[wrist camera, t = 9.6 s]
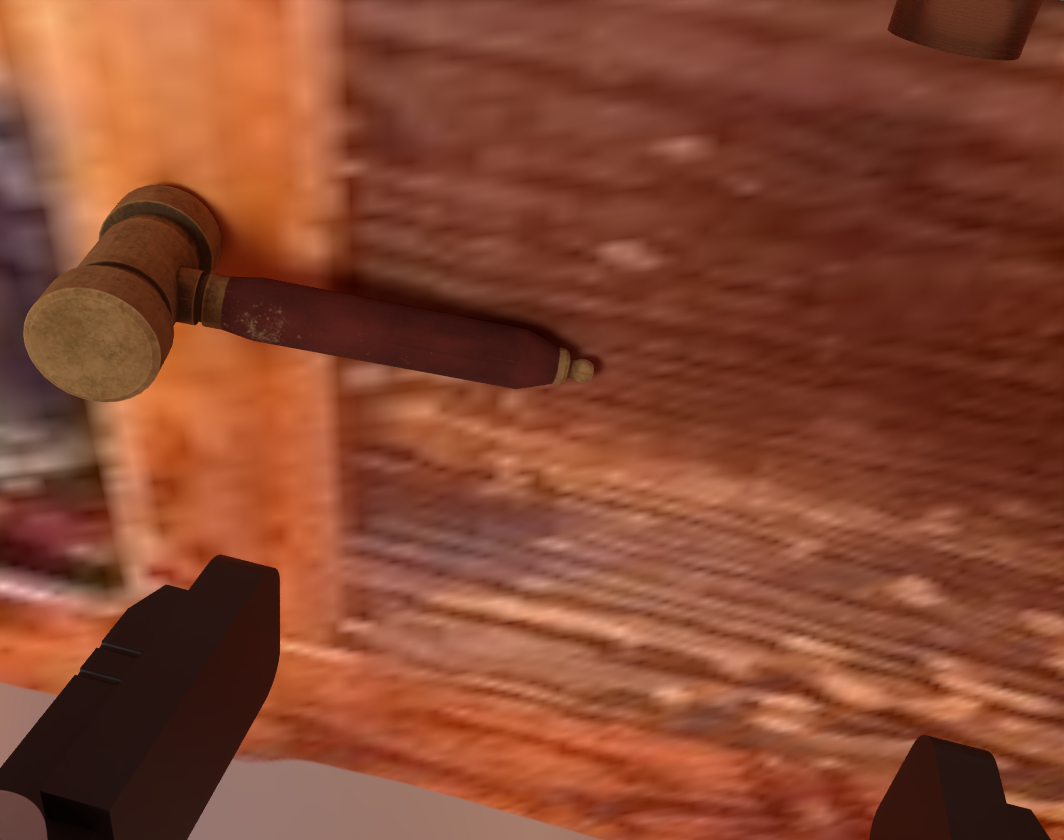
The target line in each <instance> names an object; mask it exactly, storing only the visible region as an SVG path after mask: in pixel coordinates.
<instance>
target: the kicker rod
mask: <svg viewBox="0 0 1064 840" xmlns="http://www.w3.org/2000/svg"><path fill="white" fill-rule="evenodd" d="M1041 3H1042V0H897V2H896V5H895V8H894V11H893V14H892V17H891V20H890V23H889V26H888V30H889V31H890V32H891V33H892V34H894V35H896V36H898V37H900V38H903V39H905V40H908V41H911V42H914V43H917V44H920V45H923V46H927V47H931V48H934V49H938V50H942V51H946V52H951V53H955V54H960V55H966V56H971V57H977V58H985V59H993V60H1016V59H1018V58H1019V57H1020V55H1021V52H1022V50H1023V47H1024V45H1025V42H1026V40H1027V37H1028V35H1029V32H1030V30H1031V28H1032V25H1033V23H1034V20H1035V18H1036V15H1037V13H1038V10H1039V8H1040V5H1041Z"/></svg>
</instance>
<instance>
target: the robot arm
mask: <svg viewBox="0 0 1064 840" xmlns="http://www.w3.org/2000/svg"><path fill="white" fill-rule="evenodd" d="M279 655H280V577H279V572H278V570H277V569H276V568H272V567H268V566H264V565H260V564H256V563H252V562H249V561H245V560H241V559H237V558H233V557H229V556H225V555H217V556H216V557H214V558H213V559H212V560H211V561H210V562H209V563H208V565H207V566H206V567H205V569H204V570H203V571H202V573H201V574H200V575H199V577H198V578H197V579H196V581H195V582H194V584H193V585H192V586H191V588H190V589H189V590H185V589H182V588H178V587H174V586H170V585H164V586H163V587H161V588H160V589H158V590H157V591H155V592H153V593H152V594H150V595H149V596H147V597H146V598H144V599H142V600H141V601H139V602H138V603H136V604H135V605H133V606H131V607H130V608H128V609H127V610H126V612H125V613H124V614H123V615H122V617H121V618H120V619H119V620H118V622H117V623H116V624H115V625H114V627H113V628H112V629H111V630H110V632H109V633H108V634H107V635H106V637H105V638H104V639H103V640H102V644H101V646H100V648H96V649H95V650H94V652H93V653H92V654H91V655H90V657H89V658H88V659H87V660H86V662H85V663H84V664H83V665H82V667H81V668H80V672H79V674H78V675H74V677H73V678H72V679H71V680H70V682H69V683H68V684H67V685H66V687H65V688H64V689H63V690H62V692H61V693H60V694H59V695H58V697H57V698H56V699H55V700H54V702H53V703H52V704H51V705H50V707H49V708H48V709H47V710H46V712H45V713H44V714H43V716H42V717H41V718H40V719H39V720H38V722H37V723H36V724H35V725H34V727H33V728H32V729H31V730H30V732H29V733H28V734H27V735H26V737H25V738H24V739H23V740H22V741H21V743H20V744H19V745H18V747H17V748H16V749H15V750H14V752H13V753H12V754H11V755H10V756H9V758H8V759H7V760H6V762H5V763H4V764H3V765H2V767H1V768H0V840H187V839H188V837H189V835H190V833H191V831H192V830H193V828H194V826H195V824H196V823H197V821H198V819H199V817H200V815H201V814H202V812H203V810H204V808H205V807H206V805H207V803H208V801H209V800H210V798H211V796H212V794H213V792H214V791H215V789H216V787H217V785H218V783H219V782H220V780H221V778H222V776H223V775H224V773H225V771H226V769H227V768H228V766H229V764H230V762H231V761H232V759H233V757H234V755H235V753H236V752H237V750H238V748H239V746H240V745H241V743H242V741H243V739H244V737H245V736H246V734H247V732H248V730H249V729H250V727H251V725H252V723H253V721H254V720H255V718H256V716H257V714H258V713H259V711H260V709H261V707H262V705H263V704H264V702H265V700H266V698H267V696H268V694H269V691H270V689H271V686H272V684H273V681H274V678H275V674H276V671H277V667H278V662H279ZM869 840H1051V839H1050V838H1049V836H1048V835H1047V833H1046V832H1045V830H1044V829H1043V827H1042V826H1041V824H1040V823H1039V821H1038V820H1037V818H1036V817H1035V815H1034V814H1033V812H1032V811H1031V810H1030V809H1026V808H1022V807H1019V806H1015V805H1011V804H1007V803H1006V799H1005V795H1004V791H1003V787H1002V783H1001V779H1000V775H999V771H998V767H997V764H996V761H995V759H994V757H993V755H992V754H991V753H990V752H988V751H986V750H982V749H978V748H974V747H970V746H966V745H962V744H958V743H955V742H951V741H947V740H943V739H939V738H935V737H931V736H927V735H922V736H920V737H919V738H918V739H917V740H916V741H915V743H914V744H913V746H912V748H911V749H910V751H909V753H908V755H907V757H906V758H905V760H904V762H903V764H902V766H901V767H900V769H899V771H898V773H897V775H896V776H895V778H894V780H893V782H892V784H891V785H890V787H889V789H888V791H887V793H886V794H885V796H884V798H883V800H882V802H881V803H880V805H879V807H878V809H877V811H876V814H875V816H874V820H873V823H872V828H871V833H870V839H869Z"/></svg>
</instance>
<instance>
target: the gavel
mask: <svg viewBox="0 0 1064 840" xmlns="http://www.w3.org/2000/svg"><path fill="white" fill-rule="evenodd" d="M221 248H222V240H221V234H220V230H219V227H218V225H217V222H216V220H215V218H214V217H213V215H212V214H211V213H210V211H209V210H208V209H207V208H206V207H205V206H204V205H203V204H202V203H201V202H200V201H199V200H198V199H196V198H195V197H193V196H192V195H191V194H189V193H187V192H184V191H182V190H180V189H177V188H174V187H170V186H163V185H149V186H144V187H141V188H137V189H135V190H133V191H132V192H130V193H128V194H127V195H126V196H125V197H124V198H123V199H121V201H120V202H119V203H118V204H117V205H116V207H115V208H114V209H113V210H112V211H111V213H110V214H109V215H108V216H107V218H106V219H105V221H104V222H103V224H102V227H101V230H100V233H99V241H98V242H97V243H96V245H95V246H94V247H93V248H92V249H91V251H90V252H89V253H88V254H87V256H86V257H85V258H84V259H83V261H82V262H81V263H80V264H79V266H78V267H77V268H74V269H71V270H69V271H67V272H65V273H63V274H61V275H60V276H59V277H58V278H57V279H55V280H54V281H53V282H52V283H51V285H50V286H49V287H48V288H47V289H46V291H45V292H44V293H43V294H42V295H41V297H40V298H39V299H38V300H37V301H36V303H35V304H34V305H33V307H32V308H31V309H30V311H29V312H28V314H27V317H26V320H25V323H24V333H23V335H24V341H25V346H26V349H27V351H28V354H29V356H30V358H31V360H32V361H33V363H34V365H35V366H36V368H37V369H38V370H39V371H40V372H41V373H42V374H43V375H44V376H45V378H47V379H48V380H49V381H50V382H52V383H53V384H54V385H55V386H57V387H59V388H60V389H62V390H64V391H66V392H67V393H70V394H72V395H75V396H77V397H79V398H83V399H87V400H91V401H98V402H117V401H122V400H126V399H130V398H132V397H134V396H136V395H138V394H140V393H142V392H143V391H144V390H146V389H147V388H148V387H149V386H150V385H151V383H152V382H153V381H154V380H155V378H156V376H157V374H158V372H159V371H160V369H161V367H162V365H163V363H164V361H165V359H166V358H167V356H168V354H169V351H170V349H171V347H172V344H173V338H174V328H173V326H174V324H175V323H176V322H180V323H185V324H191V325H197V323H198V321H199V322H202V325H203V326H205V327H211V328H216V329H221V330H225V331H227V332H230V333H233V334H236V335H239V336H241V337H244V338H247V339H250V340H253V341H258V342H263V343H269V344H274V345H280V346H285V347H290V348H296V349H301V350H307V351H312V352H318V353H323V354H328V355H334V356H339V357H345V358H350V359H356V360H361V361H367V362H372V363H377V364H383V365H388V366H394V367H399V368H405V369H410V370H415V371H421V372H426V373H432V374H437V375H443V376H448V377H453V378H459V379H464V380H470V381H475V382H481V383H486V384H492V385H497V386H502V387H508V388H513V389H519V388H526V387H533V386H540V385H547V384H556V385H560V384H563V383H564V382H565V380H566V379H567V378H568V377H569V378H573V379H574V380H575V381H577V382H581V383H583V382H588V381H590V380H591V378H592V376H593V374H594V365H593V363H591V362H590V361H589V360H587V359H577V360H573V359H571V357H570V353H569V351H568V350H567V349H565V348H560V347H558V346H556V345H554V344H552V343H550V342H549V341H547V340H545V339H543V338H542V337H540V336H538V335H536V334H535V333H533V332H531V331H529V330H528V329H523V328H518V327H513V326H508V325H503V324H498V323H493V322H487V321H482V320H477V319H472V318H467V317H462V316H457V315H451V314H446V313H441V312H436V311H431V310H426V309H421V308H416V307H410V306H405V305H400V304H395V303H390V302H385V301H380V300H375V299H369V298H364V297H359V296H354V295H349V294H344V293H339V292H333V291H328V290H323V289H318V288H313V287H308V286H303V285H298V284H292V283H287V282H282V281H277V280H272V279H267V278H251V277H229V276H224V275H219V274H214V273H212V271H213V270H214V268H215V266H216V264H217V262H218V259H219V257H220V254H221Z"/></svg>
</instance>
